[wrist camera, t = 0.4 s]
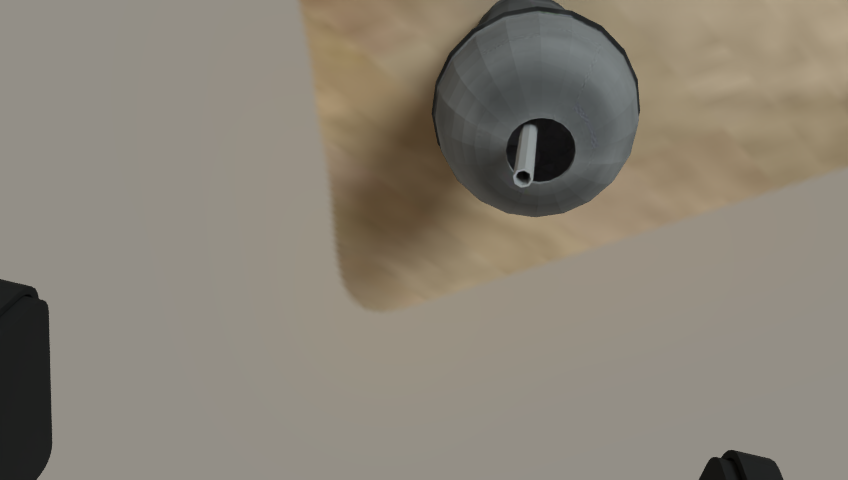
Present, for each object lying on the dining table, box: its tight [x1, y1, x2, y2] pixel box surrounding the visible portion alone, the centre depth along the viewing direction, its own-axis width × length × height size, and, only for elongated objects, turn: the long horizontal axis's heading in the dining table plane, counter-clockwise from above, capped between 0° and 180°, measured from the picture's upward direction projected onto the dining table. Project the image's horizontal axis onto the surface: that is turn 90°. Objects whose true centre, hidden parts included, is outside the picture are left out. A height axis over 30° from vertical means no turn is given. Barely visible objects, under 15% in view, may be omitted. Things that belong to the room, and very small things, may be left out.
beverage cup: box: [432, 0, 640, 217], centre depth 29 cm, size 7×7×20 cm
